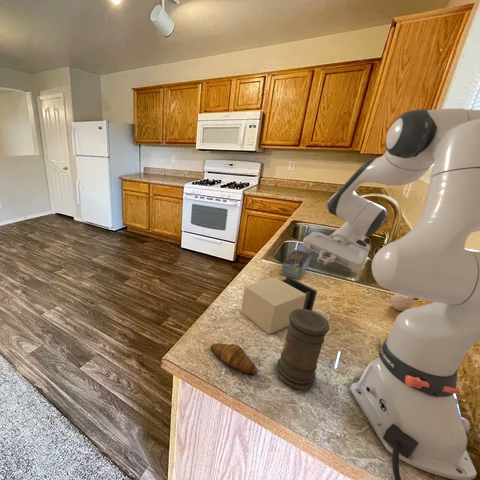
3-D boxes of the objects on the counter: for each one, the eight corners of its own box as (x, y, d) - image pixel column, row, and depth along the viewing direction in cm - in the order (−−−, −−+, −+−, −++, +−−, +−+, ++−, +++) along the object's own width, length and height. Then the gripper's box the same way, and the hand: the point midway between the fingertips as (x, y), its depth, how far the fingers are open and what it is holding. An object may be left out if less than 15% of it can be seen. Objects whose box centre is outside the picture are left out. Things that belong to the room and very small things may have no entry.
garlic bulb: (415, 313, 94) (423, 294, 91) (400, 315, 93) (409, 296, 90) (396, 302, 100) (403, 284, 97) (382, 304, 99) (389, 286, 96)
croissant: (261, 368, 71) (264, 353, 69) (250, 384, 66) (253, 369, 64) (217, 343, 79) (218, 329, 77) (204, 355, 75) (206, 341, 73)
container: (317, 374, 69) (335, 318, 63) (308, 397, 63) (326, 337, 56) (282, 356, 75) (295, 302, 68) (270, 376, 68) (283, 319, 62)
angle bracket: (290, 293, 104) (295, 273, 100) (318, 309, 94) (324, 288, 91) (258, 305, 96) (262, 284, 93) (285, 323, 87) (290, 301, 83)
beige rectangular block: (270, 301, 100) (274, 277, 96) (299, 321, 89) (306, 294, 86) (240, 312, 94) (244, 286, 90) (269, 334, 83) (275, 306, 79)
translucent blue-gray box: (279, 274, 120) (282, 261, 118) (292, 260, 134) (294, 248, 132) (298, 279, 116) (301, 266, 113) (309, 265, 129) (312, 253, 127)
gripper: (316, 224, 103) (295, 241, 98) (376, 248, 89) (355, 270, 84) (313, 236, 107) (292, 253, 102) (369, 261, 93) (349, 282, 88)
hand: (321, 261), depth 93 cm, fingers closed
